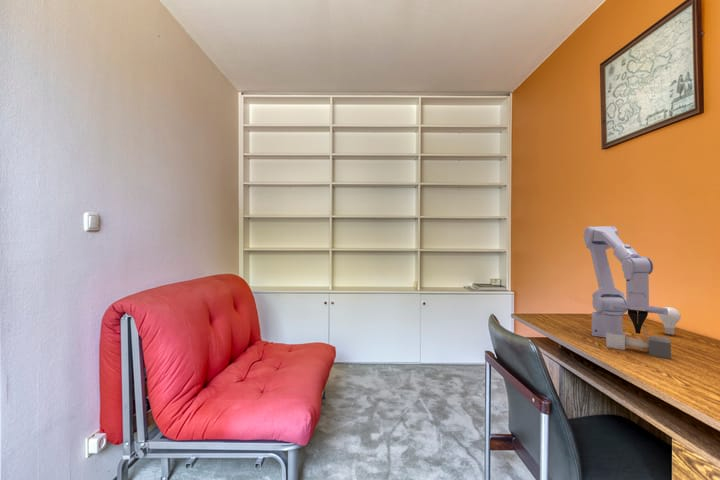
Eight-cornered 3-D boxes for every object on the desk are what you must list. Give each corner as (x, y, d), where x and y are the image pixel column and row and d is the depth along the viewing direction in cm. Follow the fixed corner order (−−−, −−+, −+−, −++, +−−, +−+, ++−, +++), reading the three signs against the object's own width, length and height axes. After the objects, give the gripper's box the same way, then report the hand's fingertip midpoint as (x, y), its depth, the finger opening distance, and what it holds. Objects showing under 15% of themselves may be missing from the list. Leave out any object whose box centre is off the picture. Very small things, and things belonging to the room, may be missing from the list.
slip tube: (617, 345, 107) (617, 323, 107) (618, 343, 109) (618, 322, 109) (662, 353, 100) (661, 329, 100) (661, 350, 102) (661, 327, 102)
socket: (649, 355, 100) (648, 339, 100) (649, 349, 105) (648, 335, 105) (671, 359, 97) (670, 343, 97) (669, 353, 102) (669, 338, 102)
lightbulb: (686, 337, 119) (685, 308, 119) (669, 337, 119) (668, 308, 119) (669, 332, 125) (669, 305, 125) (653, 332, 125) (653, 305, 125)
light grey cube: (606, 347, 108) (606, 332, 109) (607, 343, 112) (607, 329, 112) (625, 350, 105) (624, 335, 105) (625, 346, 109) (625, 332, 109)
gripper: (608, 292, 107) (609, 331, 107) (668, 296, 97) (668, 340, 97) (610, 289, 112) (611, 327, 112) (667, 294, 102) (667, 335, 102)
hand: (638, 332), depth 105 cm, fingers closed
